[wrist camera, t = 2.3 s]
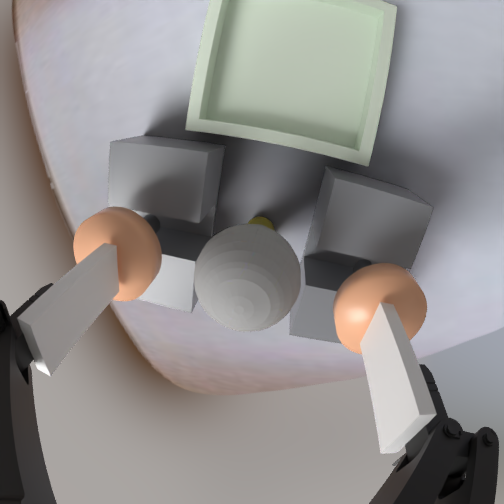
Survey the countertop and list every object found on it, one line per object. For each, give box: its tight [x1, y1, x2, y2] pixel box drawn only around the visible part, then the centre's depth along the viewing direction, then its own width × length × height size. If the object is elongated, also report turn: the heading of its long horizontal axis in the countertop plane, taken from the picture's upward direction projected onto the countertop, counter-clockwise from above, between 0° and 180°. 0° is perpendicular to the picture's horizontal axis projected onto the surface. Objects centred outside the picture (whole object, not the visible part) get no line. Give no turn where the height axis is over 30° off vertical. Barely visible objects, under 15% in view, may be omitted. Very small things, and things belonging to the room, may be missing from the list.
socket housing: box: [108, 136, 434, 344], centre depth 20 cm, size 11×20×4 cm, turn 80°
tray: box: [185, 0, 397, 167], centre depth 15 cm, size 12×12×2 cm
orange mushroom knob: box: [333, 259, 427, 354], centre depth 16 cm, size 5×5×6 cm
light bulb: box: [194, 217, 301, 332], centre depth 17 cm, size 5×6×10 cm
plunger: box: [74, 206, 162, 301], centre depth 17 cm, size 5×5×6 cm
